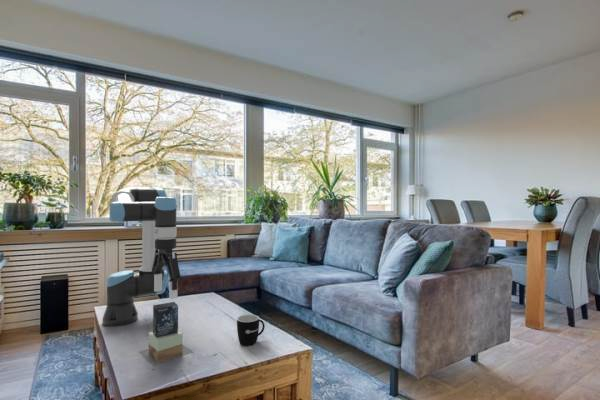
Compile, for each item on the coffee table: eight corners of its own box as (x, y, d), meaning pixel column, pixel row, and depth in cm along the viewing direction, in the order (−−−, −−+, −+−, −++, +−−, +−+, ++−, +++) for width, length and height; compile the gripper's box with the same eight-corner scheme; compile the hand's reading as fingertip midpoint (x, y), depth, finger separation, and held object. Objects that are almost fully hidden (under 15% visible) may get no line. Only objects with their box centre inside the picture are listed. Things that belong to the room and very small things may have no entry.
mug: (242, 349, 130) (242, 323, 130) (233, 341, 137) (233, 317, 138) (269, 342, 137) (269, 317, 137) (259, 335, 144) (259, 311, 144)
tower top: (148, 343, 125) (148, 333, 125) (172, 336, 132) (172, 326, 132) (158, 351, 119) (158, 340, 119) (182, 343, 125) (182, 333, 125)
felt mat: (138, 352, 127) (138, 351, 127) (176, 341, 138) (176, 340, 138) (153, 366, 117) (153, 365, 117) (193, 352, 127) (193, 351, 127)
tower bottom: (148, 354, 125) (148, 343, 125) (172, 347, 132) (172, 336, 132) (158, 362, 119) (158, 351, 119) (182, 354, 125) (182, 343, 125)
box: (156, 338, 121) (156, 308, 121) (152, 333, 125) (152, 304, 125) (178, 333, 125) (178, 304, 125) (174, 328, 130) (174, 301, 130)
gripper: (142, 235, 132) (142, 289, 132) (170, 242, 114) (169, 304, 114) (161, 234, 137) (161, 286, 137) (190, 240, 119) (190, 299, 120)
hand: (165, 294), depth 126 cm, fingers open, 13 cm apart
